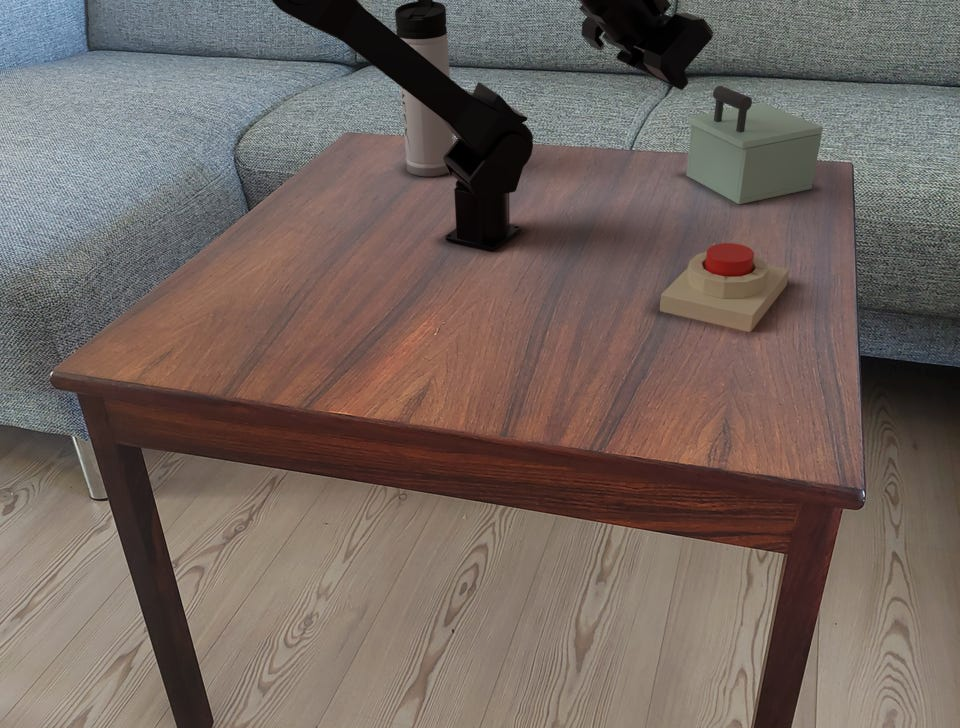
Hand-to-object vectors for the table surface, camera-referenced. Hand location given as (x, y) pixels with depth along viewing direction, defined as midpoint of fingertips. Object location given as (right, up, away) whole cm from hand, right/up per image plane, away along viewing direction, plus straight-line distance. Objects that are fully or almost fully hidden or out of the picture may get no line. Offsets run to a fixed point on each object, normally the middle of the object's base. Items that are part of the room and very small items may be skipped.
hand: (683, 86), depth 104 cm
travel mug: (-29, -3, +20) cm, 36 cm away
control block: (+1, -26, -13) cm, 29 cm away
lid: (+10, -2, +8) cm, 13 cm away
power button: (+1, -24, -14) cm, 28 cm away
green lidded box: (+11, -7, +12) cm, 18 cm away
